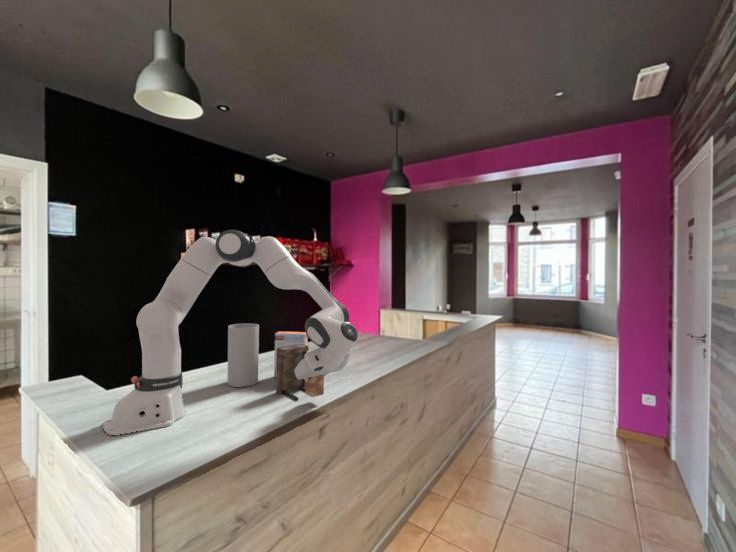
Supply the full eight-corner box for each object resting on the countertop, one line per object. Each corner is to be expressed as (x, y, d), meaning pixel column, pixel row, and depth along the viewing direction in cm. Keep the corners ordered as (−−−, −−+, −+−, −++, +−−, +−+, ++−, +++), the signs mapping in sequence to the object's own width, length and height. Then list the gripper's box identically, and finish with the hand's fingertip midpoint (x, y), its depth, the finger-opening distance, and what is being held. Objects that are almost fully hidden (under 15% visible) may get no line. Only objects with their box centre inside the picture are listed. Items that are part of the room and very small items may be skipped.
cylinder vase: (262, 378, 155) (262, 323, 155) (252, 388, 143) (253, 328, 142) (234, 378, 155) (235, 323, 155) (222, 387, 143) (223, 327, 142)
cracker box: (307, 376, 160) (308, 331, 160) (304, 380, 154) (304, 334, 154) (278, 374, 162) (279, 330, 161) (273, 378, 156) (274, 332, 155)
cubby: (292, 401, 129) (293, 354, 129) (276, 392, 139) (277, 347, 138) (319, 394, 137) (320, 349, 137) (302, 385, 147) (302, 344, 147)
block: (312, 397, 125) (312, 370, 125) (304, 393, 129) (305, 367, 129) (323, 394, 129) (324, 367, 128) (316, 390, 132) (316, 364, 132)
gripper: (348, 346, 130) (332, 365, 138) (301, 353, 117) (286, 375, 124) (355, 360, 127) (339, 379, 134) (308, 370, 113) (292, 391, 121)
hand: (313, 377), depth 129 cm, fingers closed on block, 5 cm apart
